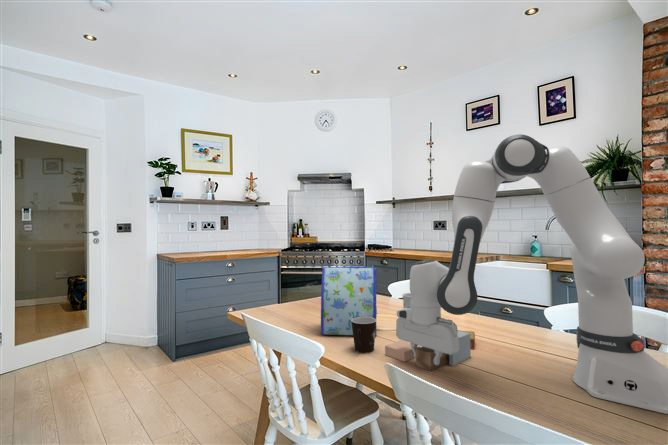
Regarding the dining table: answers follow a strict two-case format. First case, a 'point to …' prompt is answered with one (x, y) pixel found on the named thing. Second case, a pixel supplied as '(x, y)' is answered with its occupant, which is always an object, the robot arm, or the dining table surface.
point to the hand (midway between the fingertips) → (426, 361)
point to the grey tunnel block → (461, 349)
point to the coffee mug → (364, 334)
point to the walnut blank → (429, 358)
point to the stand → (400, 350)
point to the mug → (406, 300)
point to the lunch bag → (346, 297)
